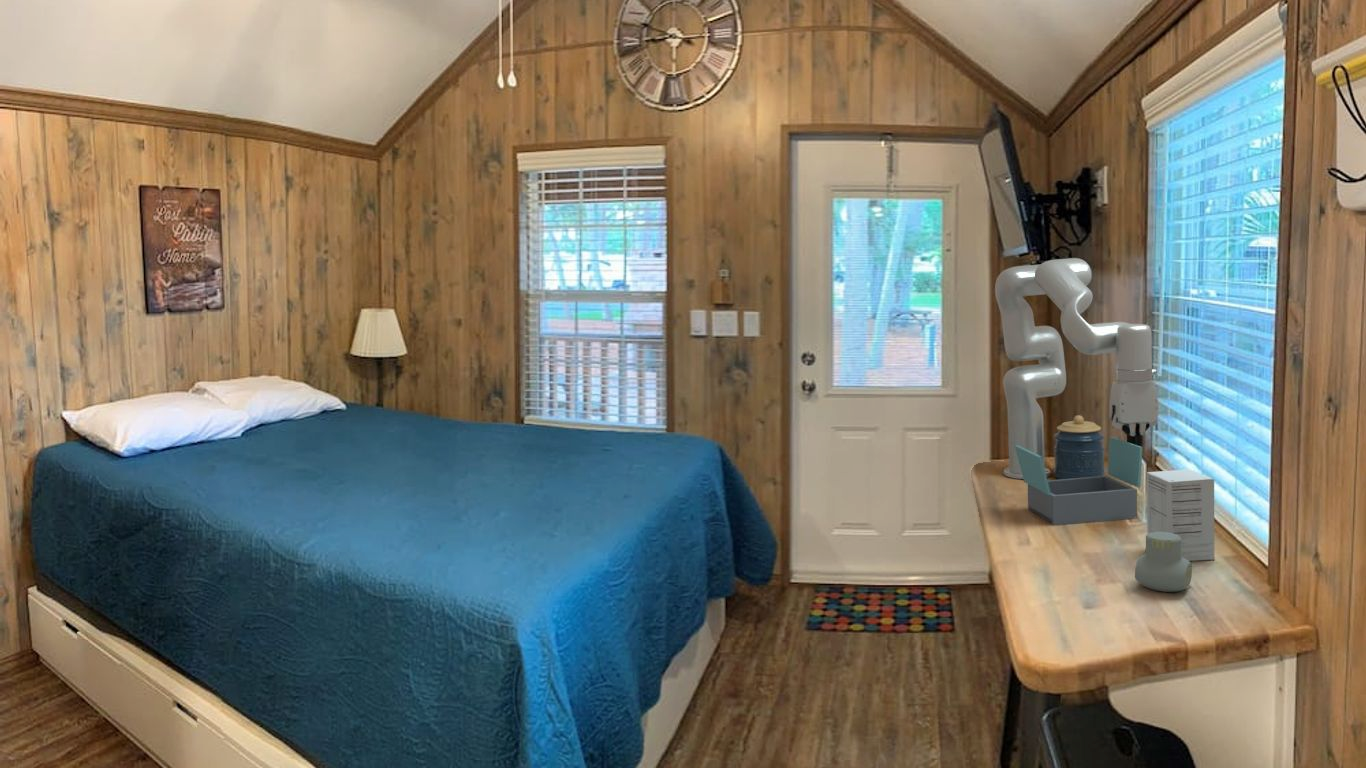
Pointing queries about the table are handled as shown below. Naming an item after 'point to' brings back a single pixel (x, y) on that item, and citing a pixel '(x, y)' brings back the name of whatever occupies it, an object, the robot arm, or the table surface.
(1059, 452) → the canister
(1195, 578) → the table surface
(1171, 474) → the supplement box
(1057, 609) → the table surface
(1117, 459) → the flap
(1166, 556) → the air freshener
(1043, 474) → the flap
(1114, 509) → the box
